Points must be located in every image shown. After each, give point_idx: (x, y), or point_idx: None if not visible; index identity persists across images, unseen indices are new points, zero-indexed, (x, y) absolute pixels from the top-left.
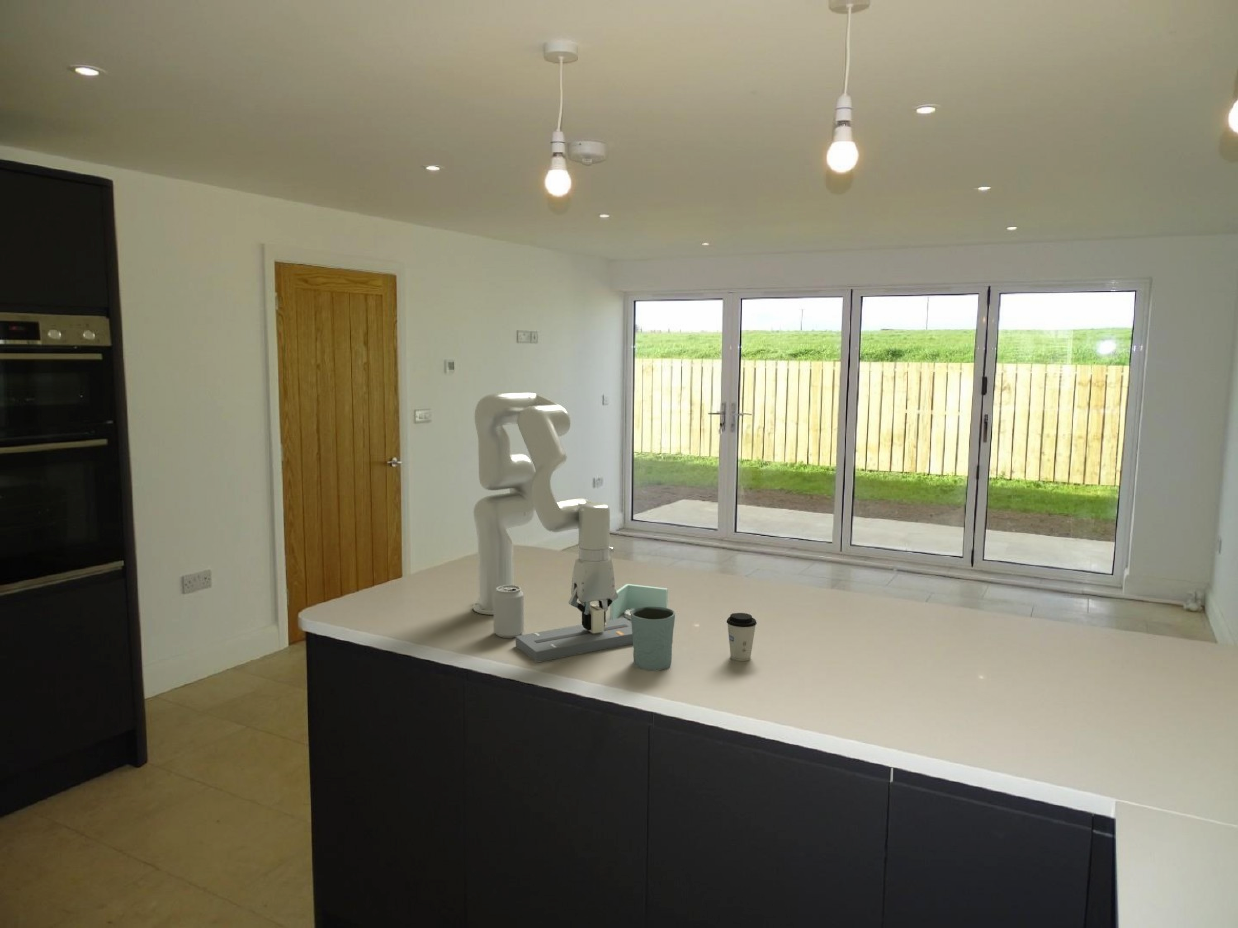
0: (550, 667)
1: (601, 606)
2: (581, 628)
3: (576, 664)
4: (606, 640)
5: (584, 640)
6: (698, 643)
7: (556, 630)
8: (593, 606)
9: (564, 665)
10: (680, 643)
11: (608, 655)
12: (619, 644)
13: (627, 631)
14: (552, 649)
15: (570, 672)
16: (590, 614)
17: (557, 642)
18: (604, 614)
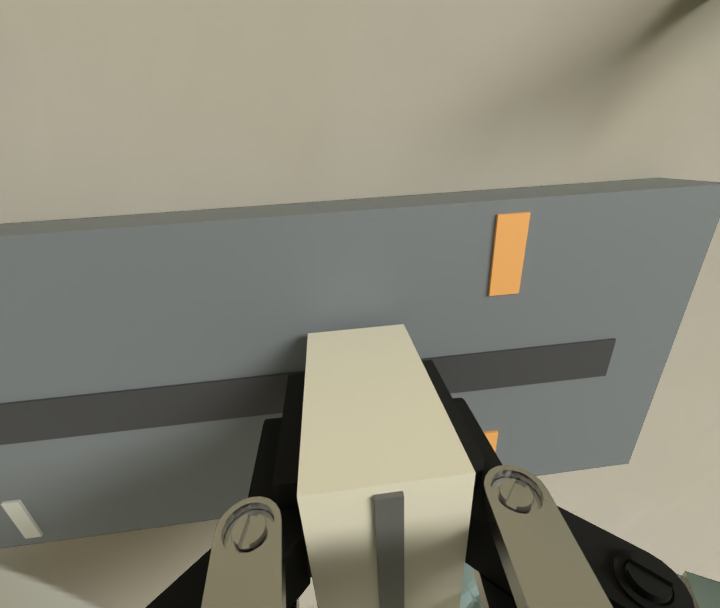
0: (42, 553)
1: (495, 558)
2: (302, 299)
3: (169, 550)
4: None
5: (242, 490)
6: (709, 497)
7: (76, 265)
8: (412, 538)
9: (112, 549)
10: (662, 481)
11: None
12: None
13: (537, 441)
14: (19, 540)
15: (126, 597)
16: (311, 575)
17: (58, 480)
18: None
